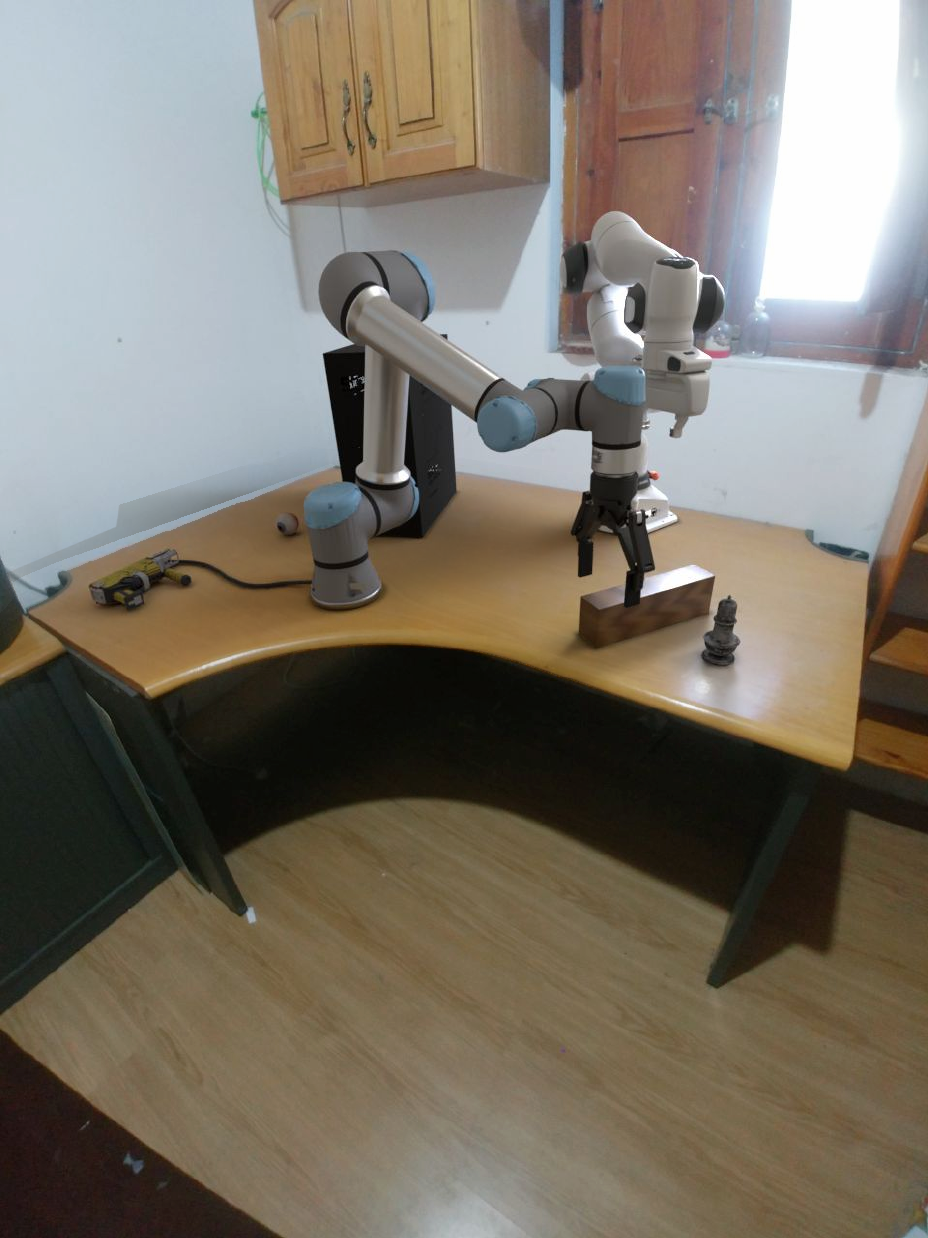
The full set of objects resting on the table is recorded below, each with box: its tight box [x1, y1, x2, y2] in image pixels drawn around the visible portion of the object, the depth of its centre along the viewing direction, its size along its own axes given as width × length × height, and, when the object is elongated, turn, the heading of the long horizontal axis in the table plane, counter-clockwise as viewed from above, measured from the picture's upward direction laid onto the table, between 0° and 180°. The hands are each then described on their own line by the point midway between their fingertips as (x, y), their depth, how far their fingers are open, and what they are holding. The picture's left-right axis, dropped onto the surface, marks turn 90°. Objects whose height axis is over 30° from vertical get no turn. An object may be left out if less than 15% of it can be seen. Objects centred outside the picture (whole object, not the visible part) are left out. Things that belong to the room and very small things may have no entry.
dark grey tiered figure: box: [701, 594, 741, 666], centre depth 101 cm, size 6×6×12 cm
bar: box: [578, 564, 716, 649], centre depth 113 cm, size 26×6×8 cm, turn 115°
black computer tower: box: [322, 333, 458, 538], centre depth 165 cm, size 38×20×45 cm, turn 167°
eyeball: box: [275, 511, 300, 536], centre depth 163 cm, size 6×6×6 cm
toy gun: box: [88, 547, 192, 612], centre depth 139 cm, size 5×24×15 cm
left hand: (607, 589), depth 107 cm, fingers open, 13 cm apart
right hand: (658, 433), depth 120 cm, fingers open, 8 cm apart
